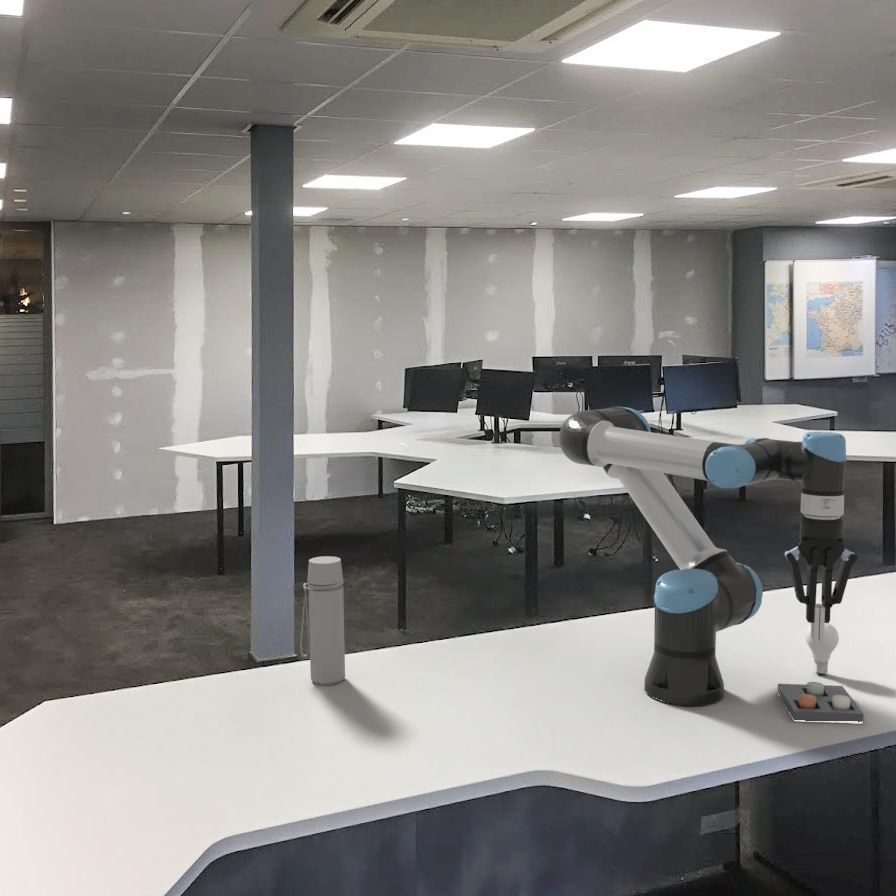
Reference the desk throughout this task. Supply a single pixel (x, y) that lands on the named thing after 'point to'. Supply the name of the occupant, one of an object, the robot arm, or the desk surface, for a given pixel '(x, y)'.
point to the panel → (818, 704)
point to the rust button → (807, 701)
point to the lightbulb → (822, 647)
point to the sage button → (815, 688)
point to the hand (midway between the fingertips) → (817, 639)
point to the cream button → (840, 702)
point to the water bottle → (325, 620)
